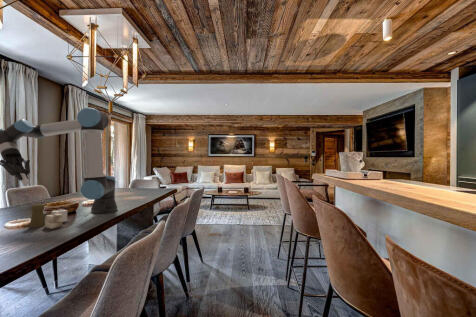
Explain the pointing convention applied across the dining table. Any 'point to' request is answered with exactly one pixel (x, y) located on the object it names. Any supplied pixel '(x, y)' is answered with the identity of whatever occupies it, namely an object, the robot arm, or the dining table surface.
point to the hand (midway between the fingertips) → (26, 184)
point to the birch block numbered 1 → (53, 220)
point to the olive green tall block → (37, 216)
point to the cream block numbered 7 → (64, 212)
